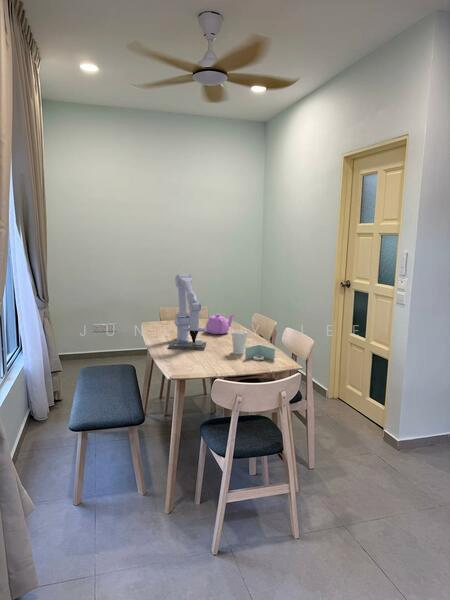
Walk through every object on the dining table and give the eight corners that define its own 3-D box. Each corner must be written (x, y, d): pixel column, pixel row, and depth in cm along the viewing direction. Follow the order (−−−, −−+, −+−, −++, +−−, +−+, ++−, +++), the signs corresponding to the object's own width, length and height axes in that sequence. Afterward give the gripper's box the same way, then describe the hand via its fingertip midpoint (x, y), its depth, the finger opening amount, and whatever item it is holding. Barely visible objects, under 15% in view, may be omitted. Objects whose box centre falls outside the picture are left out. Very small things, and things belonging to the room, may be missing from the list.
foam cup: (232, 354, 244) (233, 333, 242) (229, 350, 253) (230, 330, 251) (247, 354, 246) (248, 333, 244) (244, 350, 255) (245, 329, 253)
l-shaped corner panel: (245, 359, 237) (245, 347, 235) (258, 356, 245) (259, 343, 244) (260, 364, 228) (261, 351, 227) (274, 360, 236) (275, 348, 235)
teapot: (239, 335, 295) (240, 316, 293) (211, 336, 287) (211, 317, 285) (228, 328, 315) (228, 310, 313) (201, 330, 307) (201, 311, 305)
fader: (196, 342, 260) (196, 338, 260) (202, 342, 260) (202, 338, 260) (195, 344, 255) (195, 340, 255) (201, 344, 255) (201, 340, 255)
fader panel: (172, 343, 264) (172, 340, 264) (206, 345, 264) (206, 342, 263) (168, 348, 253) (168, 345, 252) (204, 350, 252) (204, 346, 252)
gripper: (181, 322, 252) (181, 343, 254) (205, 323, 251) (204, 344, 253) (183, 319, 259) (183, 340, 261) (206, 320, 258) (205, 341, 260)
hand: (193, 342), depth 258 cm, fingers closed
